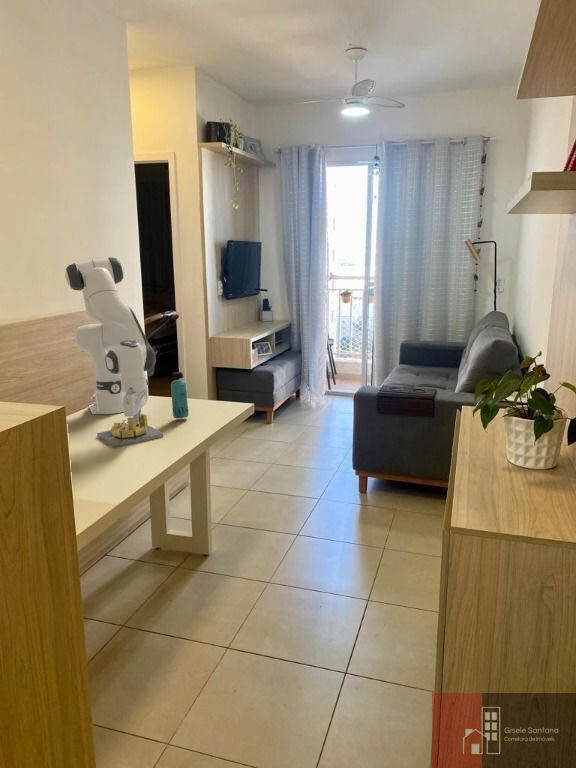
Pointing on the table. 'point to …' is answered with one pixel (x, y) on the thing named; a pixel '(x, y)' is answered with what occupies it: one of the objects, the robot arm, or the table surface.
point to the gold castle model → (120, 442)
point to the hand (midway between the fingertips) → (137, 421)
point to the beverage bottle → (179, 396)
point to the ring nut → (130, 427)
